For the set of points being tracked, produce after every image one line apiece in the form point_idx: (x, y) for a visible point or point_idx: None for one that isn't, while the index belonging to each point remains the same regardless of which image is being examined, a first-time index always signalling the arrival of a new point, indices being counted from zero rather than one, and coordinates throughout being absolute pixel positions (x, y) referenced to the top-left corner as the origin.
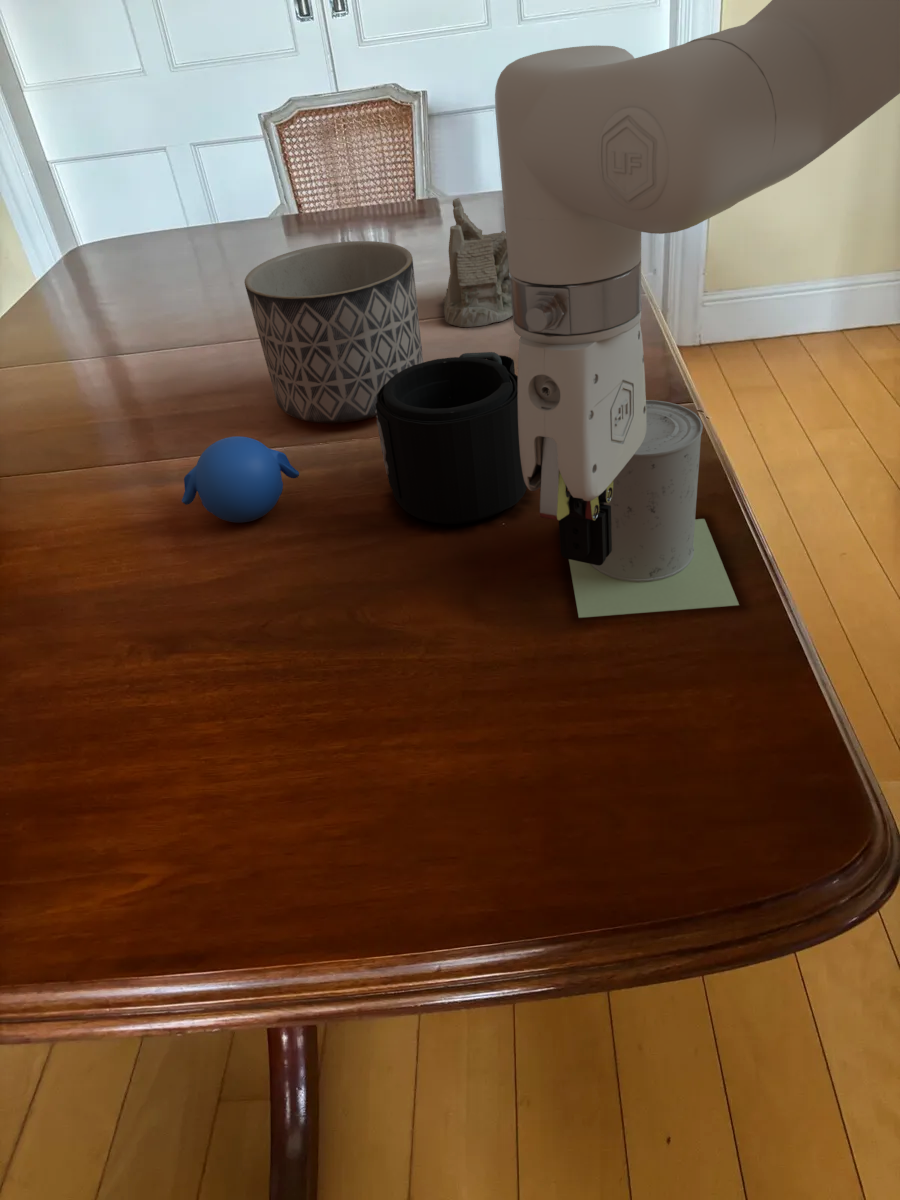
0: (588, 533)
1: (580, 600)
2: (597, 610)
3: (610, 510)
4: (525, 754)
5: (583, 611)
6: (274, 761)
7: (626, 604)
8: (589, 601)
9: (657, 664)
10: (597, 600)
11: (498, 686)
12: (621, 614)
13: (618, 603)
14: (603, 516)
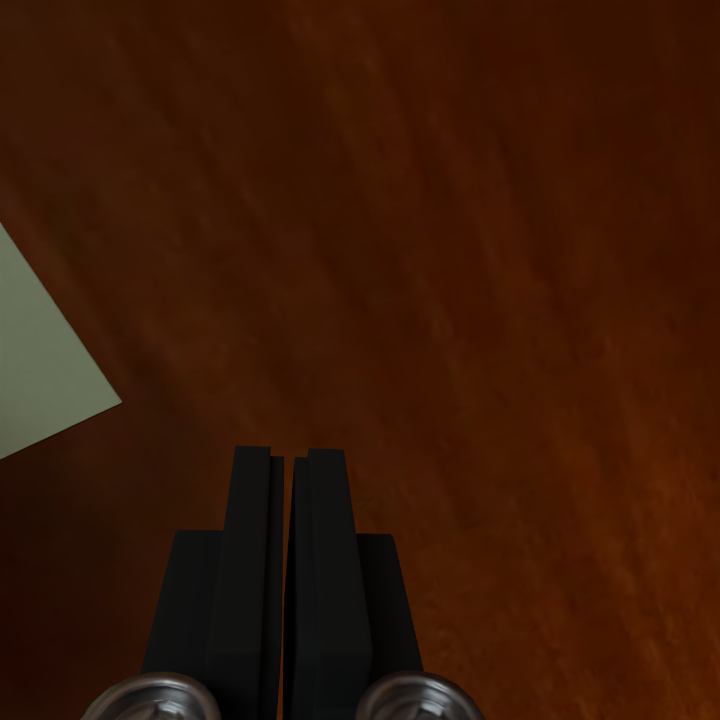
0: (394, 622)
1: (49, 422)
2: (70, 368)
3: (221, 624)
4: (610, 346)
5: (91, 400)
6: (701, 709)
7: (5, 304)
8: (43, 400)
9: (222, 145)
10: (28, 382)
11: (428, 474)
12: (55, 303)
13: (12, 326)
14: (343, 642)
